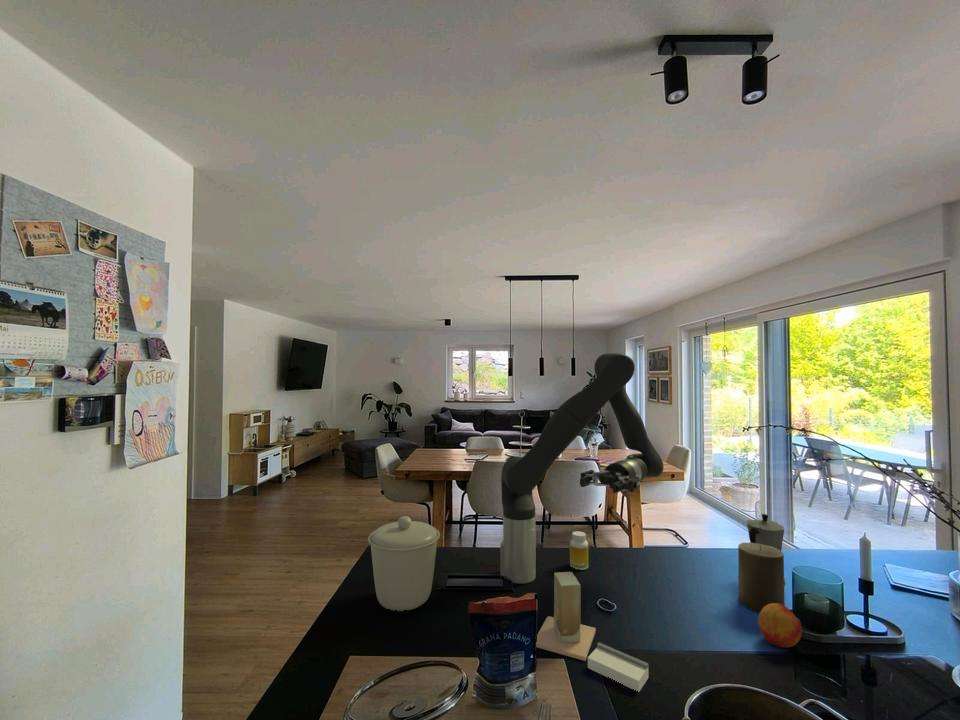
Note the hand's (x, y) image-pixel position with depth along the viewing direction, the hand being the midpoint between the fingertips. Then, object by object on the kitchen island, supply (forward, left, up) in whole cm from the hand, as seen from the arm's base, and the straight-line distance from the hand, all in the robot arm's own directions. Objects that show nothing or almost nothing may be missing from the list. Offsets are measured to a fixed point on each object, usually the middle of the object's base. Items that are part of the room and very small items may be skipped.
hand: (597, 485), depth 106 cm
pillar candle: (+36, +20, -30) cm, 51 cm away
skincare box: (-4, -15, -29) cm, 33 cm away
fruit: (+37, +3, -30) cm, 48 cm away
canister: (-46, -17, -30) cm, 57 cm away
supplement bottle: (-10, +22, -30) cm, 38 cm away
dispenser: (+7, -21, -30) cm, 38 cm away
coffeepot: (+39, +36, -30) cm, 61 cm away
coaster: (-5, -15, -30) cm, 34 cm away
